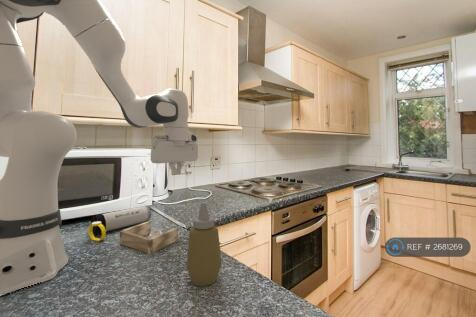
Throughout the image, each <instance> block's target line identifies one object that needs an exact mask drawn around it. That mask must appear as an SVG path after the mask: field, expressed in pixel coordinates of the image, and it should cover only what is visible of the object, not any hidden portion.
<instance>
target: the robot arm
mask: <svg viewBox="0 0 476 317" xmlns="http://www.w3.org/2000/svg"><path fill="white" fill-rule="evenodd" d="M44 13H45V14H48V15H50V16H52V17H54V18H55V19H56V20H58V21H59V22H60V23H61V24H62V25H63V26H64V27H65V28H66V30H67V31H68V32H69V34H70V35H71V36H72V38H73V39H74V40H75V42H77V44H78V45H79V46H80V47H81V49H82V50H83V52H84V53H85V54H86V56H87V57H88V59H89V60H90V62H91V64H92V65H93V67H94V69H95V71H96V73H97V75H98V76H99V77H100V79H101V80H102V82H103V83H104V85H105V86H106V87H107V88H106V89H108V90H109V92H110V93H111V94H112V96H113V97H114V99H115V101H116V102H117V104H118V105H119V107H120V110H121V113H122V116H123V118H124V120H125V121H126V122H127V124H129V125H130V126H132V127H134V128H136V129H137V128H138V129H143V128H146V127H153V126H159V125H160V126H161V125H162V133H163V134H162V135H160V134H158V135H155V136H154V137H153V138H152V139H151V149H150V161H151V163H152V164H168V167H169V168H170V170H171V175H172V176H178V175H182V169H183V167H184V163H185V162H197V160H198V157H199V147H198V146H199V145H198V143H197V142H199V137H198V135H196V134H194V133H192V132H191V131H189V130H190V129H189V123H188V119H189V112H190V111H189V101H188V97H187V95H186V93H185V92H184V91H183V90H181V89H177V88H166V89H165V90H164V91H162V92H158V93H155V94H149V95H146V96H141V97H140V96H139V95H137V93H135V91H134V90H133V88H132V87H131V84H130V83H129V82H128V81H127V78H126V77H125V76H124V73H123V71H122V60H123V59H124V55H125V52H126V40H125V37H124V36H123V33H122V32H121V30H120V28H119V26H118V25H117V23H116V22H115V20H114V19H113V17H112V16H111V14H110V13H109V11H108V10H107V9H106V7H105V6H104V5H103V3H102V2H101V1H100V0H0V157H3V158H8V160H7V165H6V169H5V172H4V175H3V176H2V178H1V179H0V294H2V293H5V292H10V291H13V290H17V289H21V288H24V287H27V288H29V287H28V286H30V287H32V286H31V285H33V286H35V285H34V284H36V285H38V284H37V283H39V284H41V283H44V282H47V281H50V280H52V279H54V278H56V276H57V275H58V272H59V271H60V270H61V269H63V268H64V267H65V266H66V265H67V264H68V262H69V256H68V255H67V252H66V250H65V247H64V242H63V238H62V232H61V230H62V215H61V214H62V213H61V209H60V208H59V199H58V197H59V196H58V193H59V192H58V182H59V181H58V179H59V175H60V171H61V167H62V165H63V163H64V162H63V161H64V159H65V157H66V156H67V155H68V153H69V152H71V150H72V149H73V148H74V147H75V145H76V143H77V138H78V133H77V130H76V127H75V125H74V124H73V123H72V122H71V120H69V119H68V118H67V117H65V116H64V115H60V114H57V113H53V112H50V111H49V112H48V111H44V110H43V111H42V110H35V111H34V110H33V107H32V94H33V91H34V89H35V87H36V79H35V76H34V73H33V71H32V68H31V65H30V62H29V59H28V57H27V54H26V51H25V49H24V45H23V43H22V41H21V37H20V35H19V32H18V28H17V24H20V23H25V22H30V21H33V20H36V19H38V18H41V17H42V16H43V14H44ZM40 282H41V283H40ZM24 289H25V288H24ZM21 290H22V289H21Z"/></svg>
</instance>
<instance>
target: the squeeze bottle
mask: <svg viewBox="0 0 476 317" xmlns="http://www.w3.org/2000/svg"><path fill="white" fill-rule="evenodd" d="M188 234H189V235H188V236H189V237H188V243H187V244H188V245H187V256H186V269H187V270H186V271H187V273H188V275H189V278H190V281H191V282H192V284H194V285H196V286H198V287H199V286H201V287H206V286H209V285H212V284H214V283H215V282H216V281H217V278H218V277H219V276H218V275H219V272H220V269H221V266H222V255H221V254H222V253H221V246H220V236H219V229H218V228H217V226H215V219H214V217H213V216H210V214H209V209H208V205H207V202H201V203H200V207H199V212H198V216H197V217H195V218H193V226H192V227H191V228H190V229H189V233H188Z"/></svg>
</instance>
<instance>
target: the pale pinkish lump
mask: <svg viewBox="0 0 476 317" xmlns="http://www.w3.org/2000/svg"><path fill="white" fill-rule="evenodd" d="M162 233H163V232H162V231H161V229H154V230H151V233H149V235H148V236H147V238H153V237H155V236H157V235H160V234H162Z"/></svg>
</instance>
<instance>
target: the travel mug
mask: <svg viewBox="0 0 476 317" xmlns="http://www.w3.org/2000/svg"><path fill="white" fill-rule="evenodd" d="M151 218H152V212H151V208H150V207H149V206H148V205H141V206H136V207H133V208H132V207H131V208H126V209H122V210H116V211H112V212H105V213H101V214H96V215H94V216H93V217H92V218H91V222H90V225H92V223H93V222H97V221H101V223H102V225H103V226H104V227H105V230H106V232H109V231H113V230H117V229H121V228H125V227H129V226H130V227H131V226H135V225H139V224H142V223H145V222H147V221H150V220H151ZM92 232H93V235H94V236H96V235H97V234H100V233H101V234H102V231H101V229H100V227H98V226H93V229H92Z"/></svg>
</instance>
